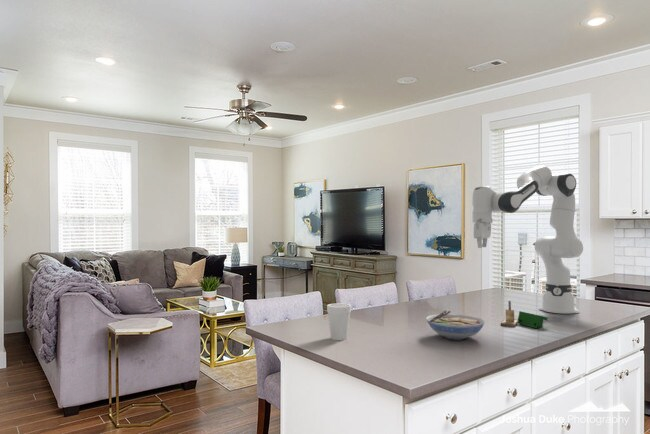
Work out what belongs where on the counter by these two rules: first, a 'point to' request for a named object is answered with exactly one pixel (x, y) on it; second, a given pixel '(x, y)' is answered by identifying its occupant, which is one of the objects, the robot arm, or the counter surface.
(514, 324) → the bandage strip
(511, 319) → the awl
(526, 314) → the clamp
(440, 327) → the ramen bowl
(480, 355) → the counter surface
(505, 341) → the counter surface
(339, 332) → the foam cup
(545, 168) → the robot arm
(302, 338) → the counter surface
